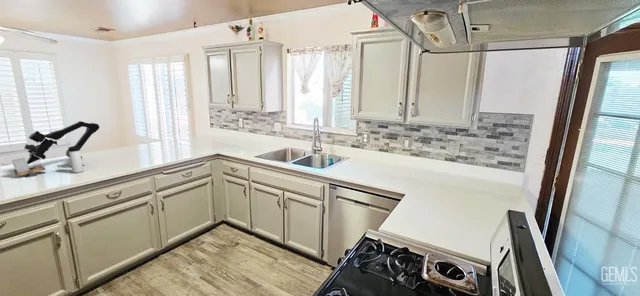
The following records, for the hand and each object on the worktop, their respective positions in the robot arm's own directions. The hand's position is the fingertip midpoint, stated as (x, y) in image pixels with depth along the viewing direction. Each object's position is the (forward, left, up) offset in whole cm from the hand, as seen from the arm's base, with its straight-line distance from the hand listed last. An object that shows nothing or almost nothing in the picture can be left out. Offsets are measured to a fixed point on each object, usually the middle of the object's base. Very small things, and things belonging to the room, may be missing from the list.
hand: (27, 163), depth 200 cm
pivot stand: (-1, -1, -8) cm, 9 cm away
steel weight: (+2, +2, -5) cm, 6 cm away
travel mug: (-28, -10, -9) cm, 31 cm away
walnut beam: (0, 0, -6) cm, 7 cm away
